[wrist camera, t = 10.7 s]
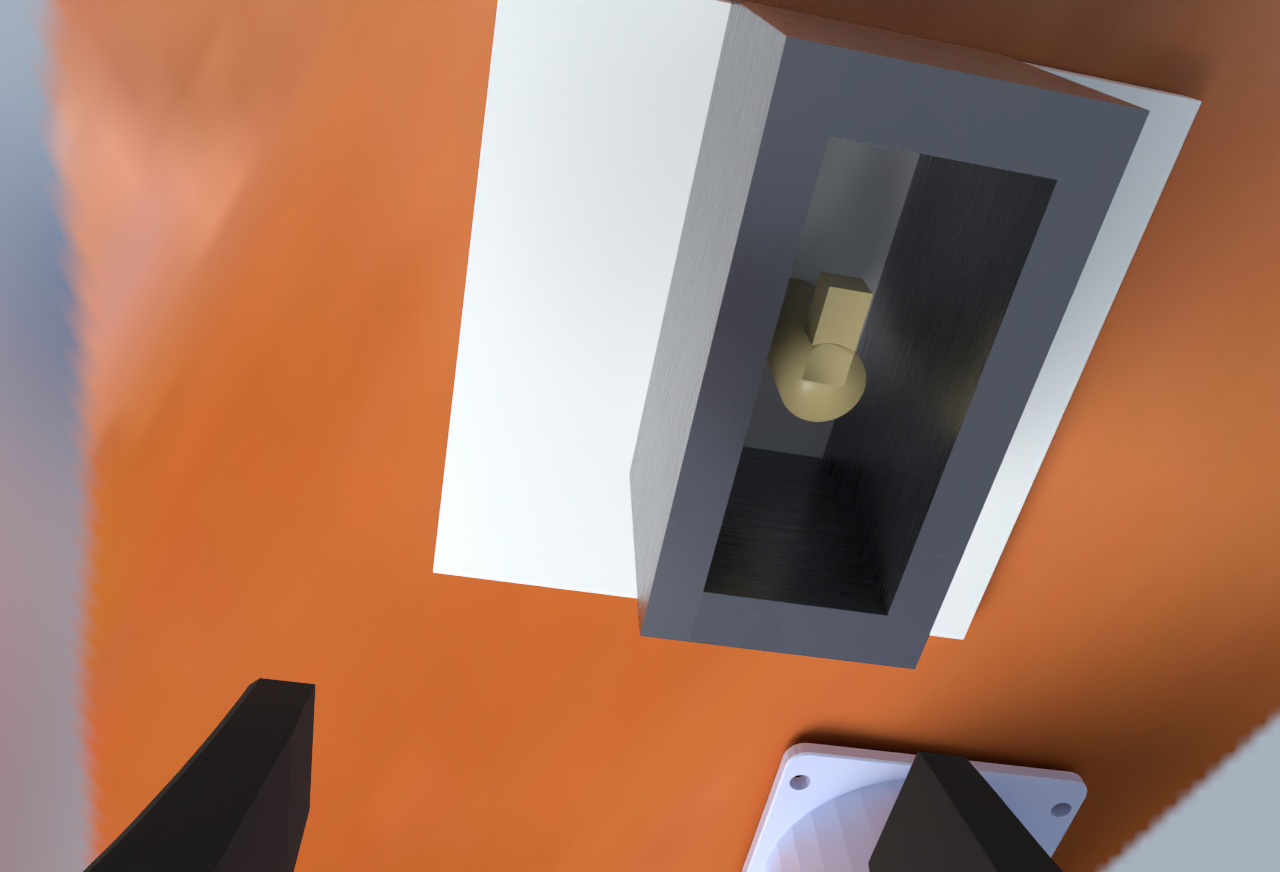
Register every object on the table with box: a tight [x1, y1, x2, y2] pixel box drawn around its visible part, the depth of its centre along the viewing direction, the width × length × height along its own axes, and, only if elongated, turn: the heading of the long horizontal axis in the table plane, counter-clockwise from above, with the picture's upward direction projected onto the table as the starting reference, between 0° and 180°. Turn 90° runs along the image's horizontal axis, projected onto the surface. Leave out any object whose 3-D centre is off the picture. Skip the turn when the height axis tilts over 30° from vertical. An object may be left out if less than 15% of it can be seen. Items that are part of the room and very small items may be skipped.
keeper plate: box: [433, 0, 1202, 640], centre depth 18 cm, size 12×12×4 cm
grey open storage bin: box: [629, 0, 1150, 669], centre depth 16 cm, size 9×5×5 cm, turn 169°
